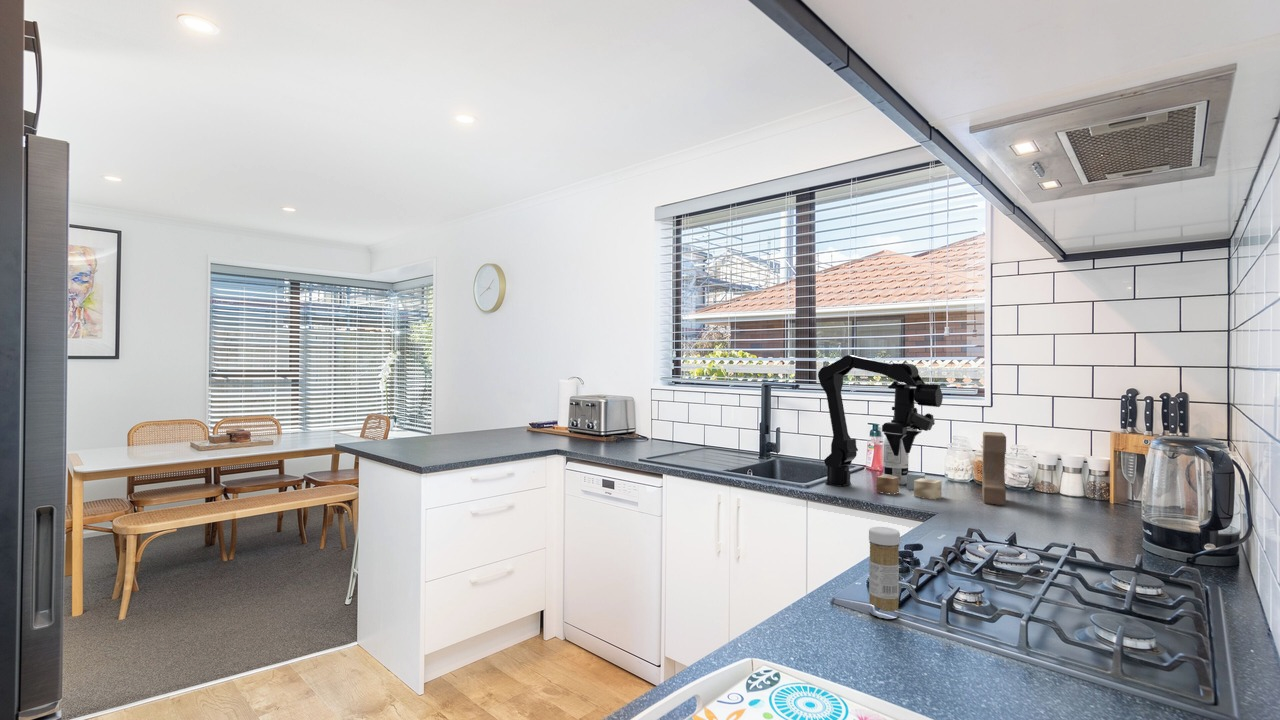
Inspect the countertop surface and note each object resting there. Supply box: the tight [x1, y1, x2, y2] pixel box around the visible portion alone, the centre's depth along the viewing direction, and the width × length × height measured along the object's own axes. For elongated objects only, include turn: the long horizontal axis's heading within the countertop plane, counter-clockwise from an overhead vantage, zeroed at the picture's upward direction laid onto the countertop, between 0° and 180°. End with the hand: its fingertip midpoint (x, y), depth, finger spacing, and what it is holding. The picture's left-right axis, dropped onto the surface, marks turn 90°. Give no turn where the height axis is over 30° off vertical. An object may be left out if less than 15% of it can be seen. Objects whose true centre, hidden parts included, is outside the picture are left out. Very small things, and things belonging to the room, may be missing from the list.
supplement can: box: [881, 437, 909, 485], centre depth 211 cm, size 8×8×15 cm
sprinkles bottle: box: [868, 526, 901, 611], centre depth 97 cm, size 5×5×14 cm
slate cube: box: [906, 471, 926, 490], centre depth 200 cm, size 5×5×5 cm
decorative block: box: [981, 431, 1007, 506], centre depth 183 cm, size 11×6×20 cm, turn 152°
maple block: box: [913, 478, 943, 500], centre depth 188 cm, size 6×6×5 cm
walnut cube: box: [876, 474, 900, 495], centre depth 194 cm, size 5×5×5 cm
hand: (902, 454), depth 191 cm, fingers open, 9 cm apart
